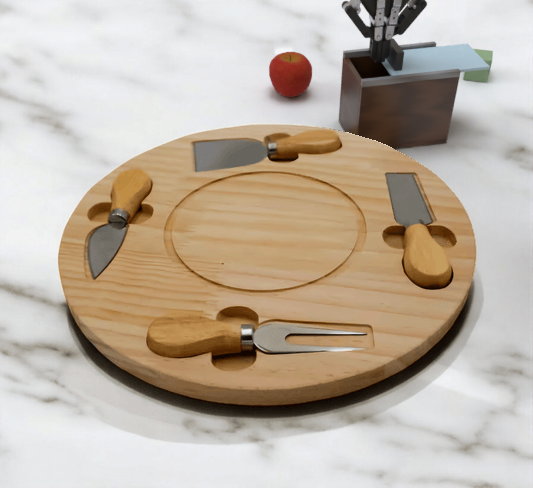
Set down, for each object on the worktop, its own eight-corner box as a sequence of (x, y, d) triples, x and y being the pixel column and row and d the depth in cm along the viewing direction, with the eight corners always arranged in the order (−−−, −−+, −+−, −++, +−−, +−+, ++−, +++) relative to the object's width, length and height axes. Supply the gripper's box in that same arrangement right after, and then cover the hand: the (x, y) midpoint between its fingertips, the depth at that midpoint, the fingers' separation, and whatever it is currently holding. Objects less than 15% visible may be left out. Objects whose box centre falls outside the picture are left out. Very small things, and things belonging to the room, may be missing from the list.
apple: (301, 107, 117) (302, 67, 112) (262, 98, 120) (261, 59, 115) (317, 88, 123) (319, 48, 117) (279, 80, 125) (279, 41, 120)
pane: (467, 46, 108) (471, 25, 105) (489, 69, 101) (494, 48, 99) (376, 55, 106) (378, 34, 103) (393, 79, 99) (396, 58, 97)
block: (464, 69, 127) (468, 48, 124) (487, 72, 126) (492, 50, 123) (463, 79, 124) (467, 58, 121) (487, 82, 123) (492, 60, 120)
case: (423, 110, 116) (434, 41, 107) (446, 143, 108) (460, 70, 99) (338, 120, 114) (343, 50, 105) (355, 154, 106) (362, 81, 97)
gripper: (352, -44, 86) (343, 76, 98) (446, -52, 88) (427, 67, 100) (337, -62, 92) (330, 54, 103) (426, -69, 94) (410, 46, 105)
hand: (378, 60), depth 101 cm, fingers closed
